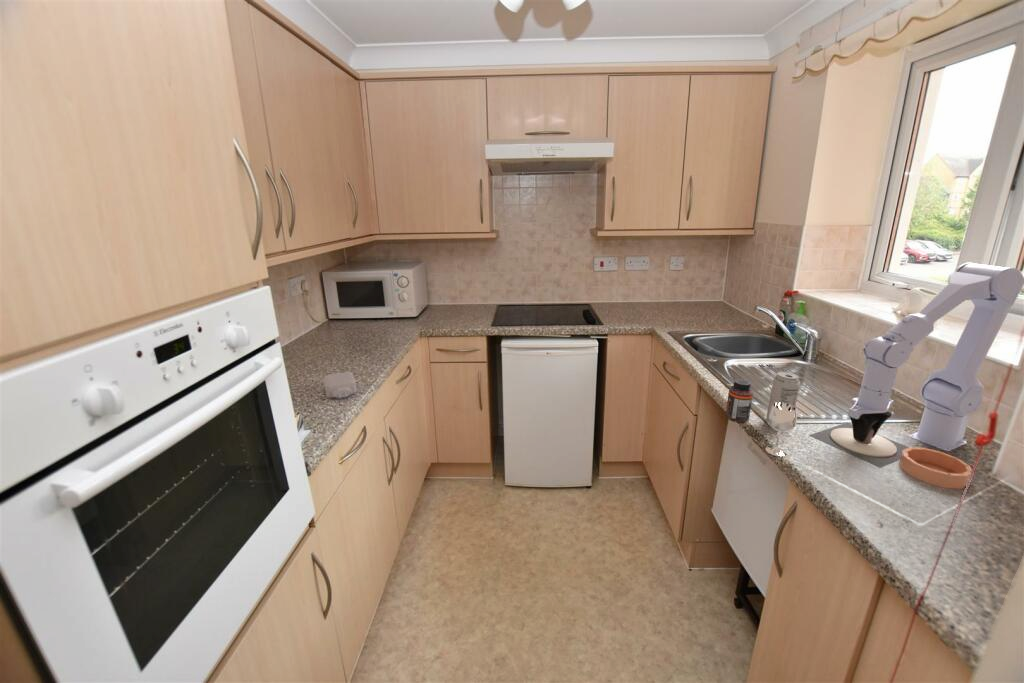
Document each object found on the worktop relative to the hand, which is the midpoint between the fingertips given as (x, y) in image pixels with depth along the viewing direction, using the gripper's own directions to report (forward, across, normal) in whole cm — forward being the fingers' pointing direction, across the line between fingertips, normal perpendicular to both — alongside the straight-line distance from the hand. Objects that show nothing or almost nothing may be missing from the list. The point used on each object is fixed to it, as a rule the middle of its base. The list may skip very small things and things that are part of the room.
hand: (863, 438), depth 108 cm
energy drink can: (+2, +10, -15) cm, 18 cm away
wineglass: (+2, +22, -7) cm, 23 cm away
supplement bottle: (+2, +16, -23) cm, 28 cm away
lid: (+1, 0, 0) cm, 1 cm away
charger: (+2, +116, -90) cm, 147 cm away
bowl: (+2, 0, +14) cm, 14 cm away
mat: (+2, 0, 0) cm, 2 cm away
